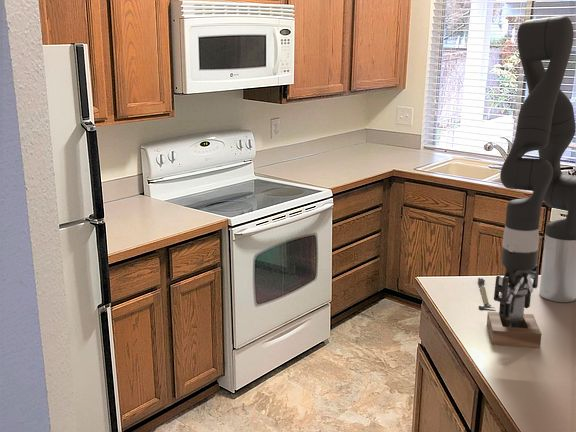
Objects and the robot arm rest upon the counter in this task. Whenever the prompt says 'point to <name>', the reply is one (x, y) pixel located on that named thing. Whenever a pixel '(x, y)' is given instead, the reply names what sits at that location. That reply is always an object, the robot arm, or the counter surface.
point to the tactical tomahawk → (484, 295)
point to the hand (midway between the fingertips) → (514, 311)
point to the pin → (516, 309)
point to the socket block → (514, 331)
